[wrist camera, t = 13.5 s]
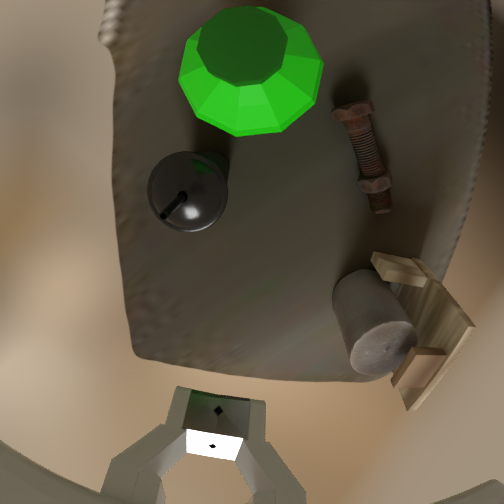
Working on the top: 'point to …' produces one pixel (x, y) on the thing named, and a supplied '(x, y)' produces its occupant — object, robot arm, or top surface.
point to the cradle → (424, 326)
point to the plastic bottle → (250, 71)
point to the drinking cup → (189, 190)
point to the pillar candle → (372, 323)
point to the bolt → (366, 154)
